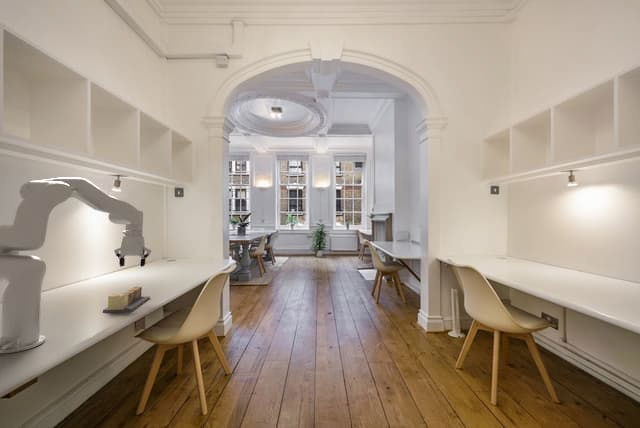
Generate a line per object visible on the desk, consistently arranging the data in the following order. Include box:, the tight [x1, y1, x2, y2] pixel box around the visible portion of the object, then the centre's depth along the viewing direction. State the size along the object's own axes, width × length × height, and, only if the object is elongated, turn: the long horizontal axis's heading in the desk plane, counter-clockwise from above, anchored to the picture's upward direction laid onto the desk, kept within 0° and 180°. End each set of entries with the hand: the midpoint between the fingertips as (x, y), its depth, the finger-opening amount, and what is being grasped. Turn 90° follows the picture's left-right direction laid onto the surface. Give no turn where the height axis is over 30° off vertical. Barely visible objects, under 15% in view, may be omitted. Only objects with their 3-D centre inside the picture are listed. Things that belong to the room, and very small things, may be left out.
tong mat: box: [102, 295, 151, 314], centre depth 146 cm, size 22×12×1 cm, turn 10°
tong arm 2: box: [127, 286, 143, 304], centre depth 150 cm, size 15×2×5 cm, turn 10°
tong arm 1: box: [122, 286, 139, 294], centre depth 149 cm, size 15×2×5 cm, turn 10°
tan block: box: [107, 293, 128, 310], centre depth 136 cm, size 4×7×6 cm, turn 100°
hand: (132, 266), depth 149 cm, fingers open, 9 cm apart
